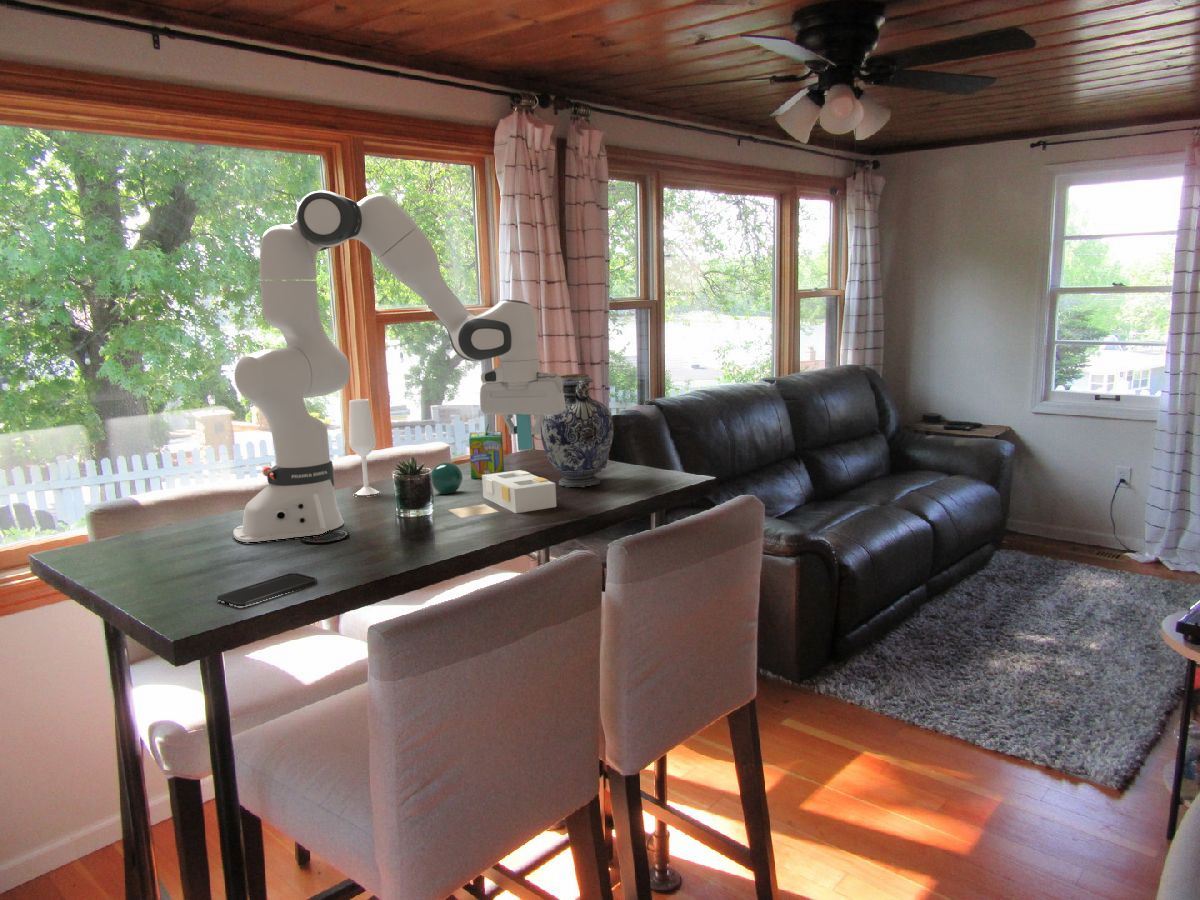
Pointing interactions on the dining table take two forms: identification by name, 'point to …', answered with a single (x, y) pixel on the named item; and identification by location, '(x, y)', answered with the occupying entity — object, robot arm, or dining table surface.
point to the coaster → (473, 511)
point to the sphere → (446, 478)
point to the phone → (268, 589)
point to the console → (519, 491)
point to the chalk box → (486, 453)
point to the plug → (524, 432)
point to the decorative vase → (578, 434)
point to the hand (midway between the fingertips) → (524, 434)
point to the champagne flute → (362, 437)
